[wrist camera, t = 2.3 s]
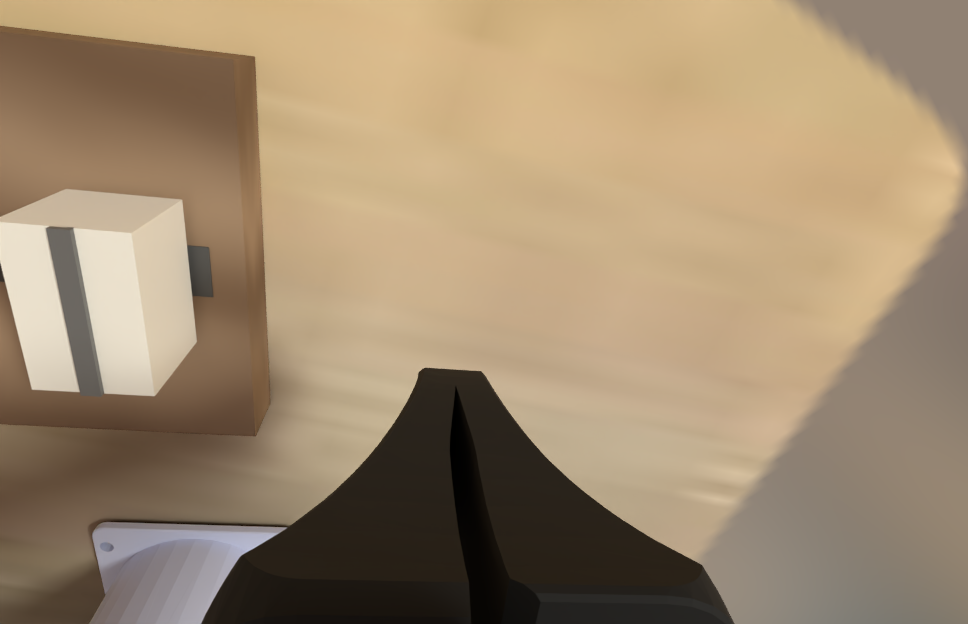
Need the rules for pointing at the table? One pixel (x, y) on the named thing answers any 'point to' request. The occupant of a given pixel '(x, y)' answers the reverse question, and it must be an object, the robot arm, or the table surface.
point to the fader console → (154, 173)
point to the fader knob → (99, 291)
